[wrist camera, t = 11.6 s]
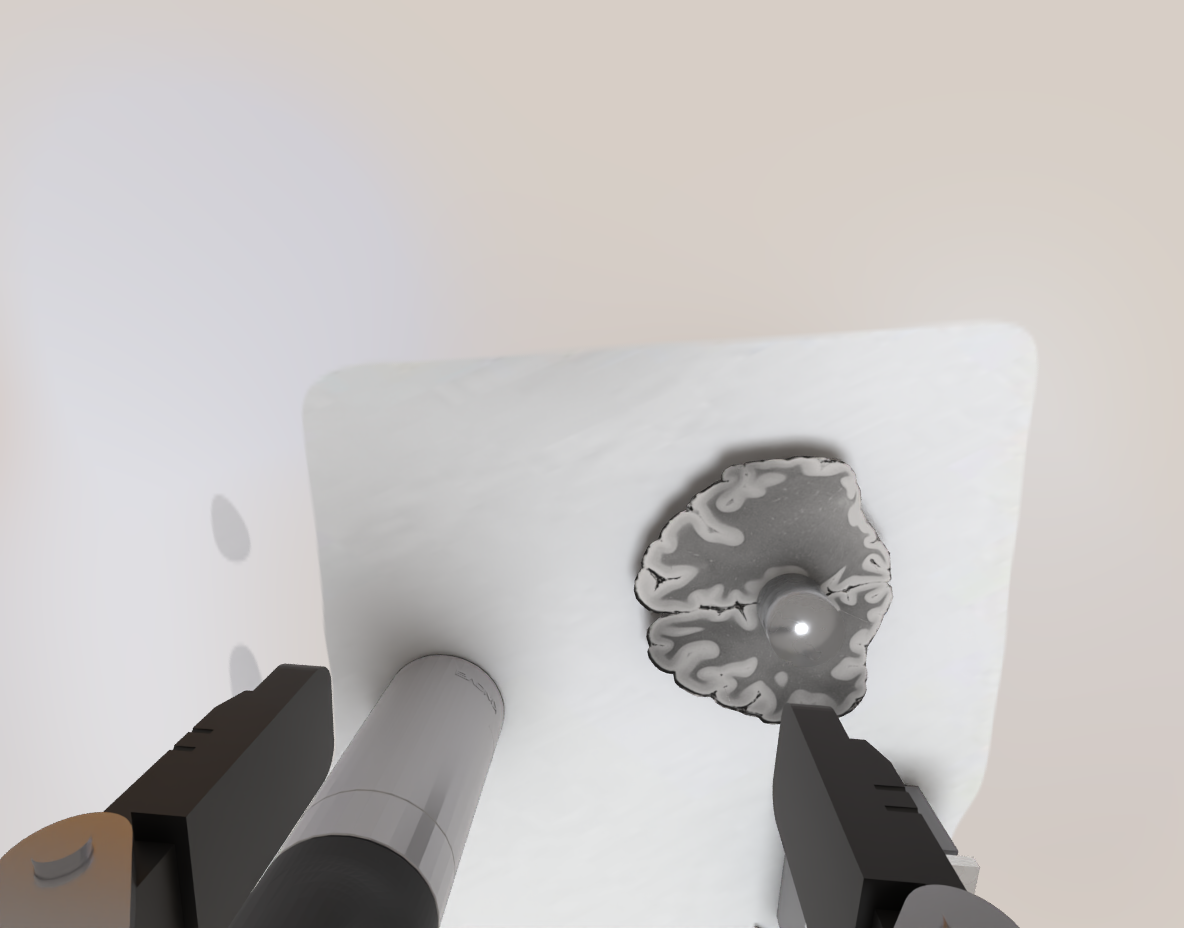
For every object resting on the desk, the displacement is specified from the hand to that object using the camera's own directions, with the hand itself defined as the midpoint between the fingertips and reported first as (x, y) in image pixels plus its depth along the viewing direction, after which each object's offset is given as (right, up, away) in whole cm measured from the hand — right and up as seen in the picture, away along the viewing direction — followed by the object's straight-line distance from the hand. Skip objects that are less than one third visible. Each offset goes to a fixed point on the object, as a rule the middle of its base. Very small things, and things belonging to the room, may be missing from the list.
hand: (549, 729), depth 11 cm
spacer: (+14, -5, +32) cm, 35 cm away
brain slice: (+12, -4, +35) cm, 37 cm away
